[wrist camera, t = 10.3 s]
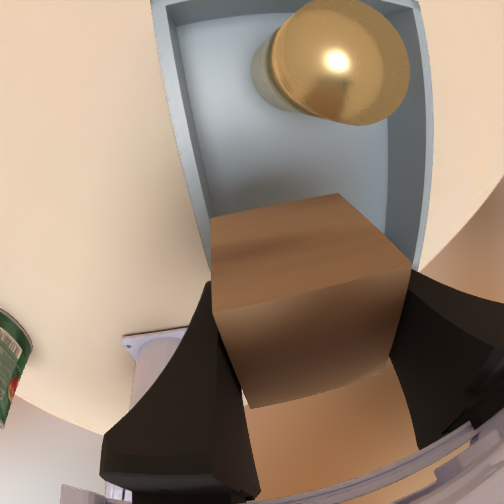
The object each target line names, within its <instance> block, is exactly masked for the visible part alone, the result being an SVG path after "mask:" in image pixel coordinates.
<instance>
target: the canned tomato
mask: <svg viewBox="0 0 504 504" xmlns="http://www.w3.org/2000/svg"><path fill="white" fill-rule="evenodd" d="M31 352H32V343H31V340H30V338H29V336H28V334H27V333H26V331H25V330H24V329H23V327H22V326H21V325H20V324H19V323H18V322H17V321H16V320H15V319H14V318H13V317H12V316H10V315H9V314H8V313H6V312H5V311H3V310H1V309H0V429H4V427H5V421H6V418H7V415H8V411H9V409H10V405H11V403H12V399H13V397H14V393H15V391H16V388H17V386H18V382H19V380H20V378H21V375H22V373H23V370H24V368H25V365H26V363H27V360H28V358H29V355H30V354H31Z"/></svg>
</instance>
